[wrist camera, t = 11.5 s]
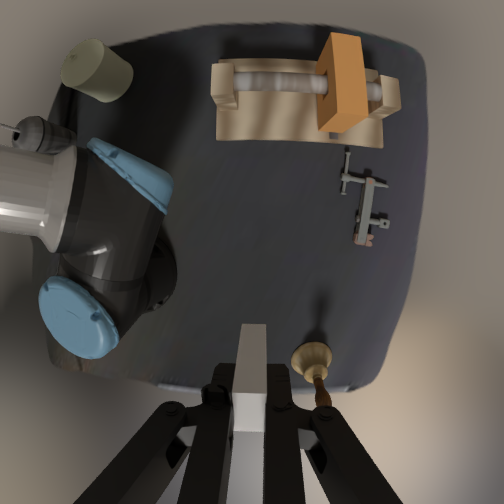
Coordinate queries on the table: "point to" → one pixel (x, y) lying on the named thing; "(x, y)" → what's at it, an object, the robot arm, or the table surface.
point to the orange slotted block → (342, 84)
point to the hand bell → (314, 367)
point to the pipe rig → (291, 102)
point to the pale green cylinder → (96, 71)
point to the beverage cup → (41, 136)
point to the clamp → (364, 206)
